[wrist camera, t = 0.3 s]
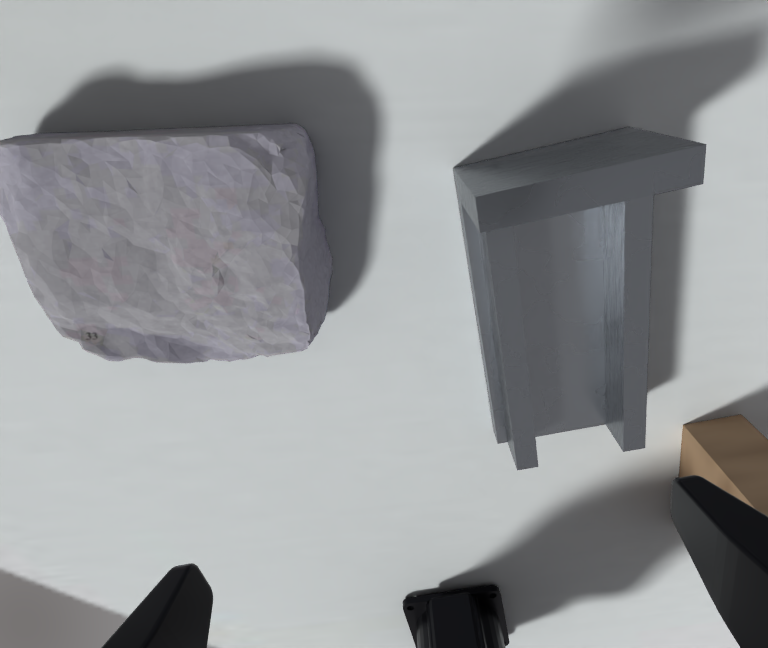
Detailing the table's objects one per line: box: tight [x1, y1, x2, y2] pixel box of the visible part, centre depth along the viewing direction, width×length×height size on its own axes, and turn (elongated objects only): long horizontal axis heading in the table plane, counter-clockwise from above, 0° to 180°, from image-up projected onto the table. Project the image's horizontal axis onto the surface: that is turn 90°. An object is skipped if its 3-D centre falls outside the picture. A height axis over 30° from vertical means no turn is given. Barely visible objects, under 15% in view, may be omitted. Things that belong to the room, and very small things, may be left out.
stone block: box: [0, 123, 333, 363], centre depth 20 cm, size 12×5×10 cm
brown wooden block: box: [679, 415, 768, 516], centre depth 25 cm, size 8×3×7 cm, turn 13°
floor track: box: [453, 127, 706, 470], centre depth 20 cm, size 14×7×5 cm, turn 13°
